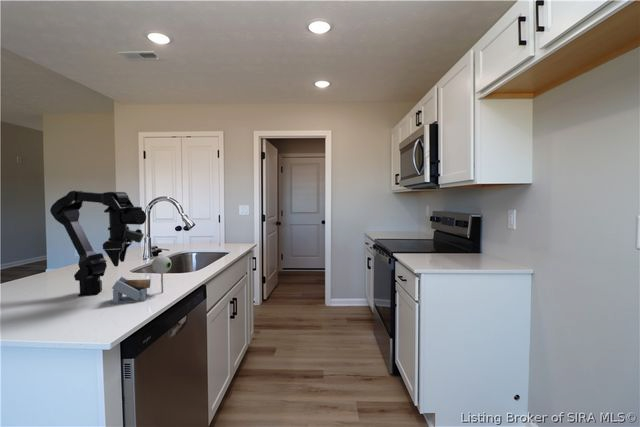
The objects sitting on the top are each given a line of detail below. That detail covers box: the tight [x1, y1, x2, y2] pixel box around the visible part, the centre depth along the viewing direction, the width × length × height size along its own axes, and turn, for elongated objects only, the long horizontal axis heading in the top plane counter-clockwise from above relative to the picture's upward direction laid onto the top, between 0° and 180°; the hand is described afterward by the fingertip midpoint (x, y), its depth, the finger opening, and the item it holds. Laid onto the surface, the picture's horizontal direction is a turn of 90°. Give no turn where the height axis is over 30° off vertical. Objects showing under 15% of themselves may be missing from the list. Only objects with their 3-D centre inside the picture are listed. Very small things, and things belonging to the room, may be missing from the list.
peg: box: [125, 278, 151, 289], centre depth 122 cm, size 3×3×8 cm
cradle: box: [109, 276, 149, 305], centre depth 121 cm, size 11×7×8 cm, turn 109°
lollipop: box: [151, 255, 172, 294], centre depth 130 cm, size 7×7×15 cm
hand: (119, 264), depth 125 cm, fingers open, 9 cm apart
